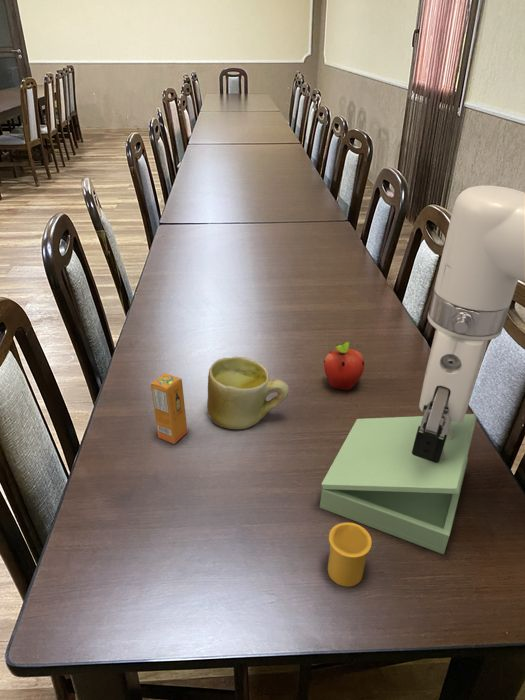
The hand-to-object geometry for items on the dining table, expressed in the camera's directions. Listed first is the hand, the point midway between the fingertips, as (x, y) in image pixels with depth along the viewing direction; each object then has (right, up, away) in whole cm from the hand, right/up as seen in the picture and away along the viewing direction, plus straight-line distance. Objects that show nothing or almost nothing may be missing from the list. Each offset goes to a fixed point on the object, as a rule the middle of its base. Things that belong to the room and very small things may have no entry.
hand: (430, 441), depth 65 cm
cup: (-11, -14, -4) cm, 18 cm away
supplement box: (-34, -2, +15) cm, 37 cm away
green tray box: (-3, -8, +6) cm, 10 cm away
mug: (-23, +1, +19) cm, 30 cm away
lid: (-3, -2, +3) cm, 5 cm away
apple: (-7, +5, +27) cm, 28 cm away
